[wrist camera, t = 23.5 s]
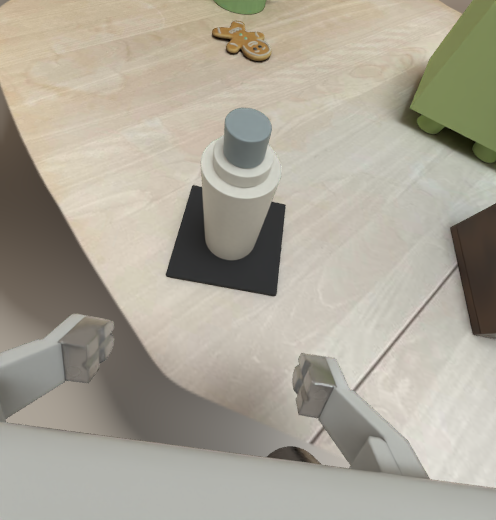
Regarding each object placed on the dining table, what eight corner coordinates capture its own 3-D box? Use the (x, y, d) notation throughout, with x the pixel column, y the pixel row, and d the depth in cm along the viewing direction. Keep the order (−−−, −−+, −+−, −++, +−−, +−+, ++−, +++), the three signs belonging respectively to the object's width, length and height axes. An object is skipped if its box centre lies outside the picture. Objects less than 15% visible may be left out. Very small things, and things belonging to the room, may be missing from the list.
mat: (275, 296, 24) (276, 295, 24) (166, 276, 23) (165, 274, 23) (284, 207, 28) (285, 204, 28) (192, 188, 28) (192, 184, 27)
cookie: (241, 14, 41) (284, 45, 39) (241, 21, 42) (282, 52, 40) (205, 28, 38) (249, 61, 36) (205, 35, 39) (248, 68, 37)
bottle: (252, 264, 24) (293, 172, 12) (200, 255, 24) (187, 149, 12) (258, 220, 27) (299, 102, 14) (210, 210, 26) (209, 80, 14)
